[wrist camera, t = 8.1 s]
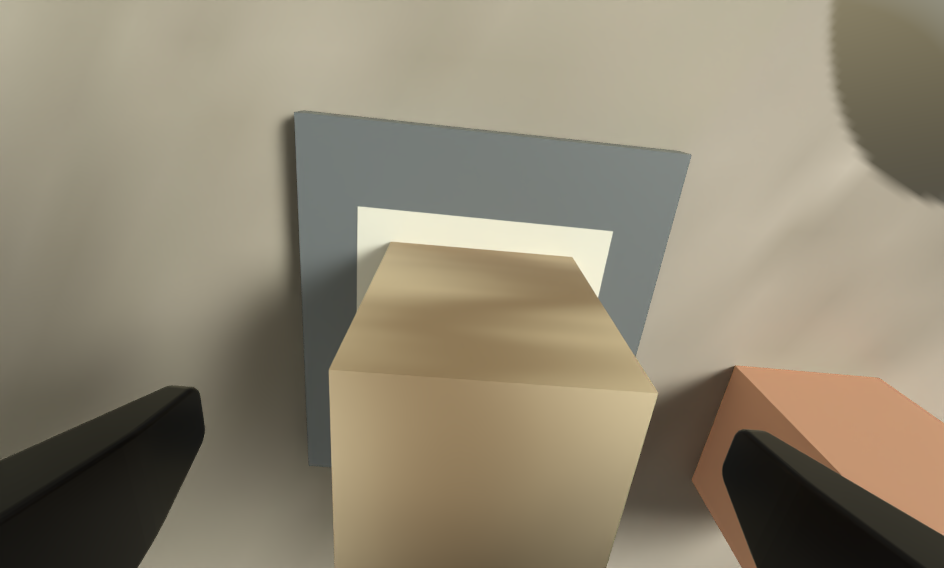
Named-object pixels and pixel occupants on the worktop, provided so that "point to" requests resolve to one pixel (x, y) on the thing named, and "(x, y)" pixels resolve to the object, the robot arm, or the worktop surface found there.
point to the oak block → (482, 415)
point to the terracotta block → (829, 440)
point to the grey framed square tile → (468, 218)
